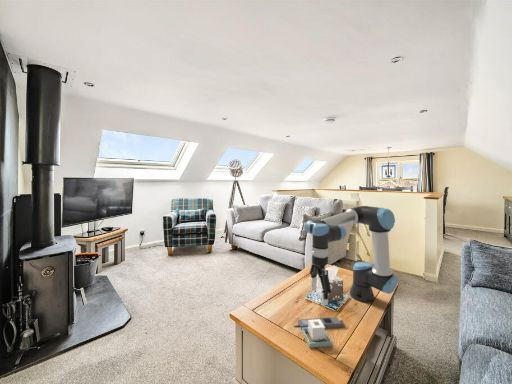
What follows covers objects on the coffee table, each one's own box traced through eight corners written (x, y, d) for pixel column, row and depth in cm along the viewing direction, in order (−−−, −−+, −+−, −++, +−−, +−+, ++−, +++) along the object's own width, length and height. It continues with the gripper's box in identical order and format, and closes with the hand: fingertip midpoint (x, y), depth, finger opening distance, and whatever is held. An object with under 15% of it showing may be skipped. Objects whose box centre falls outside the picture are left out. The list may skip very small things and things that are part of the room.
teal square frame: (321, 331, 117) (322, 326, 117) (331, 347, 106) (331, 341, 106) (301, 333, 116) (301, 327, 116) (309, 349, 105) (309, 343, 105)
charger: (319, 334, 114) (319, 318, 114) (324, 343, 108) (325, 327, 108) (307, 335, 114) (308, 319, 113) (312, 344, 108) (312, 328, 107)
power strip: (339, 321, 125) (339, 315, 125) (343, 328, 120) (344, 321, 120) (292, 325, 122) (292, 318, 122) (295, 331, 117) (295, 325, 117)
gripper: (304, 247, 121) (303, 284, 122) (323, 266, 96) (322, 312, 98) (317, 247, 122) (316, 284, 123) (339, 265, 97) (338, 311, 99)
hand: (318, 296), depth 111 cm, fingers open, 13 cm apart
